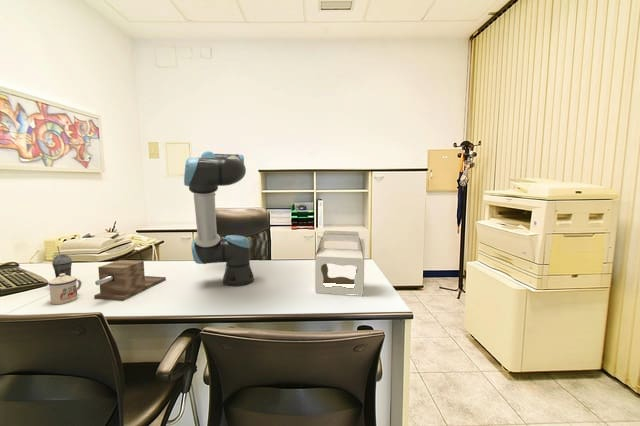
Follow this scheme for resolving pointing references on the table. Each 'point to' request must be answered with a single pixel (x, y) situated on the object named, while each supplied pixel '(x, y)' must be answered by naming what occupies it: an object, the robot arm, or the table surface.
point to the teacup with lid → (64, 289)
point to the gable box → (339, 263)
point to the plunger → (104, 280)
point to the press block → (125, 280)
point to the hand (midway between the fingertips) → (206, 223)
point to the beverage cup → (62, 264)
